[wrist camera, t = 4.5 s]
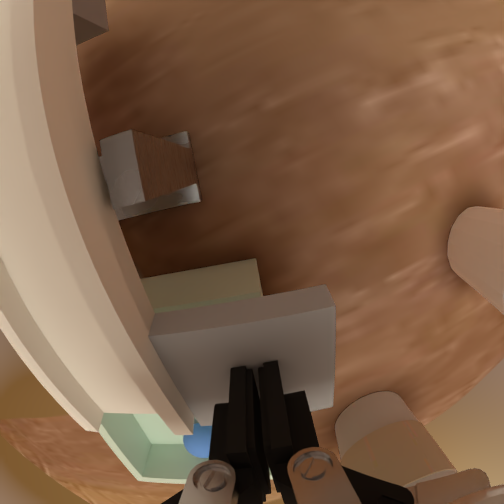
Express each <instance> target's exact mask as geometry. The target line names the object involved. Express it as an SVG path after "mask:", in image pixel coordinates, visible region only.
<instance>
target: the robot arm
mask: <svg viewBox="0 0 504 504" xmlns="http://www.w3.org/2000/svg"><path fill="white" fill-rule="evenodd" d="M258 378H259V392H260V398H259V394H258V390H257V386H256V382H255V378H254V374H253V370H252V369H247V368H246V366H240V367H233V368H231V369H230V385H229V402H228V403H219V404H215V406H214V413H213V422H212V431H211V440H210V450H209V460H208V461H204V462H201V463H200V464H198V465H196V466H195V467H194V468H193V469H192V470H191V471H190V473H189V475H188V477H187V480H186V483H185V486H184V489H183V490H181V491H180V492H178V493H177V494H175V495H174V496H172V497H171V498H169V499H168V500H166V501H165V502H163V503H161V504H263V502H266V494H271V484H270V472H269V468H270V471H271V475H272V478H273V481H274V484H275V487H276V490H277V493H278V492H281V495H282V498H283V501H284V503H285V504H504V485H498V486H494V487H491V486H490V482H489V478H488V476H487V475H486V473H485V472H483V471H482V470H480V469H476V468H474V469H468V470H465V471H461V472H459V473H455V474H451V475H448V476H444V477H441V478H437V479H433V480H429V481H424V482H420V483H416V485H415V486H411V487H406V488H405V487H403V486H400V485H397V484H393V483H390V482H387V481H384V480H381V479H377V478H374V477H372V476H369V475H366V474H363V473H360V472H357V471H355V470H352V469H349V468H347V467H344V466H342V465H341V464H340V462H339V460H338V458H337V457H336V455H335V454H334V453H333V452H332V451H330V450H328V449H325V448H322V447H319V444H318V440H317V436H316V432H315V428H314V424H313V420H312V416H311V412H310V408H309V405H308V401H307V397H306V393H305V390H303V391H298V392H293V393H288V394H284V392H283V387H282V381H281V376H280V370H279V365H278V360H277V361H271V362H265V363H263V367H259V368H258Z"/></svg>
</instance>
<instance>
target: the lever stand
mask: <svg viewBox="0 0 504 504" xmlns="http://www.w3.org/2000/svg"><path fill="white" fill-rule="evenodd" d="M100 147H101V153H102V156H100V157H99V160H100V164H101V167H102V171H103V174H104V178H105V181H106V184H107V188H108V191H109V194H110V199H111V203H112V208H113V210H115V213H116V216H117V218H118V220H122V219H126V218H130V217H134V216H138V215H142V214H146V213H150V212H155V211H159V210H163V209H168V208H172V207H177V206H181V205H186V204H190V203H195V202H200V201H201V200H202V196H201V191H200V186H199V181H198V176H197V171H196V166H195V161H194V156H193V151H192V146H191V140H190V135H189V132H187V131H185V132H181V133H177V134H173V135H169V136H165V137H162V138H157V137H154V136H151V135H148V134H145V133H142V132H139V131H135V130H132V129H131V130H128V131H124V132H121V133H118V134H116V135H113V136H110V137H107V138H104V139H101V140H100Z"/></svg>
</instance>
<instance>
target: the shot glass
mask: <svg viewBox="0 0 504 504" xmlns="http://www.w3.org/2000/svg"><path fill="white" fill-rule="evenodd" d="M447 257H448V260H449V263H450V266H451V269H452V270H453V271H454V272H455V273H456V274H457V275H458V276H459V277H460V278H462V279H463V280H464V281H465V282H466V283H468V284H469V285H470V286H471V287H473V288H474V289H475V290H476V291H477V292H478V293H480V294H481V295H482V296H483V297H484V298H485V299H487V300H488V301H489V302H490V303H491V304H492V305H493V306H494V307H496V308H497V309H498V310H499V311H500V312H501V313H502V314H503V315H504V209H498V208H489V207H481V206H475V207H469V208H467V209H466V210H464V211H463V212H462V213H461V214H460V215H459V216H458V217H457V219H456V221H455V222H454V224H453V226H452V228H451V231H450V235H449V239H448V249H447Z"/></svg>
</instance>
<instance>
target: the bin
mask: <svg viewBox="0 0 504 504" xmlns="http://www.w3.org/2000/svg"><path fill="white" fill-rule="evenodd" d="M140 280H141V282H142V285H143V287H144V289H145V292H146V294H147V296H148V299H149V301H150V303H151V306H152V308H153V310H154V312H155V313H161V312H168V311H175V310H182V309H189V308H196V307H202V306H208V305H215V304H221V303H227V302H233V301H239V300H245V299H250V298H256V297H262V296H263V293H262V288H261V282H260V277H259V272H258V267H257V261H256V258H254V259H248V260H243V261H237V262H232V263H226V264H221V265H215V266H209V267H204V268H198V269H193V270H187V271H181V272H176V273H170V274H165V275H159V276H153V277H148V278H142V279H140ZM196 423H199V422H198V421H197V419H196V418H195V416H194V424H196ZM99 433H100V434H101V436H102V437H103V438H104V440H105V441H106V442H107V444H108V445H109V446H110V448H111V449H112V450H113V452H114V453H115V454H116V455H117V457H118V458H119V459H120V460H121V461H122V463H123V464H124V465H125V466H126V467H127V469H128V470H129V471H130V472H131V473H132V474H133V476H134V477H135V478H136V479H137V480H138V481H146V482H158V483H176V484H185V483H186V480H187V477H188V475H189V473H190V471H191V470H192V469H193V468H194V467H195V466H196V465H198V464H200V463H201V462H204V461H208V460H209V457H208V458H199V457H196V456H193V455H192V454H190V453H189V452H188V451H187V450H186V448H185V446H184V443H183V436H184V435H174V433H173V432H172V431H171V430H170V429H169V427H168V426H167V425H166V424H165V423H164V421H163V420H162V419H161V418H160V416H159V415H158V414H125V413H104V414H103V417H102V421H101V425H100V428H99ZM269 472H270V479H273V478H272V475H271V471H270V468H269Z"/></svg>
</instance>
